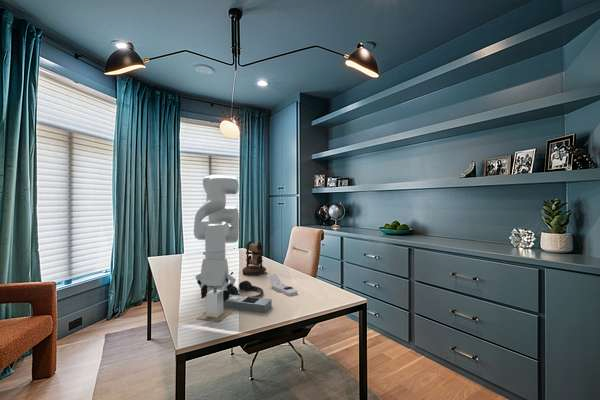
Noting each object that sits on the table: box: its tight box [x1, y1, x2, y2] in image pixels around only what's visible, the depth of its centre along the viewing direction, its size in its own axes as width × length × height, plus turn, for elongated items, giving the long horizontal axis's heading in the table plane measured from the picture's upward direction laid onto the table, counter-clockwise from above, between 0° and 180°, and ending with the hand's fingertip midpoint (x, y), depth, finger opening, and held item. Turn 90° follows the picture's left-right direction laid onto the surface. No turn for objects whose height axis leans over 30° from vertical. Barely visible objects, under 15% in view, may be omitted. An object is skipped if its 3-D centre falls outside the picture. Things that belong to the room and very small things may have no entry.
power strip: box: [223, 294, 272, 314], centre depth 115 cm, size 26×7×4 cm, turn 74°
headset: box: [228, 271, 264, 298], centre depth 130 cm, size 14×10×20 cm
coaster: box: [195, 309, 234, 323], centre depth 106 cm, size 10×10×1 cm
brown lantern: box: [241, 240, 267, 276], centre depth 170 cm, size 15×15×20 cm
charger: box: [205, 286, 224, 318], centre depth 106 cm, size 5×5×11 cm
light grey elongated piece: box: [266, 273, 299, 297], centre depth 137 cm, size 6×6×25 cm
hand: (215, 298), depth 106 cm, fingers open, 9 cm apart
